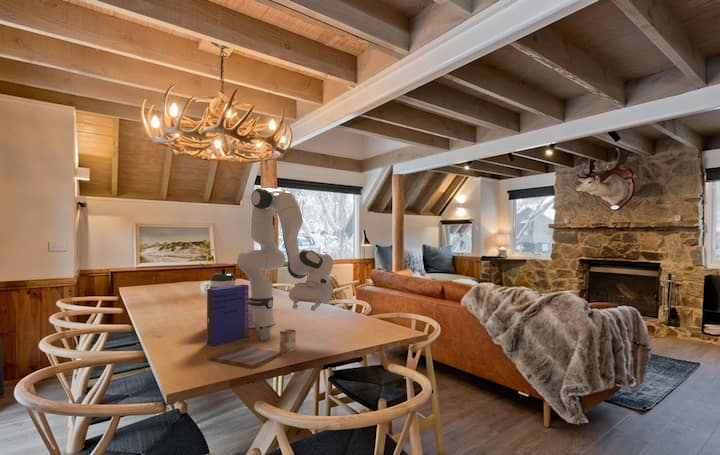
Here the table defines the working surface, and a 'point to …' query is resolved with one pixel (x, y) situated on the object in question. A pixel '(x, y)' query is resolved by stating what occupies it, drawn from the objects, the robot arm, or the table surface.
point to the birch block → (287, 340)
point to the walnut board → (244, 356)
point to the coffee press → (222, 279)
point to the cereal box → (227, 314)
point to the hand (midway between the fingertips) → (303, 309)
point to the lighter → (263, 332)
